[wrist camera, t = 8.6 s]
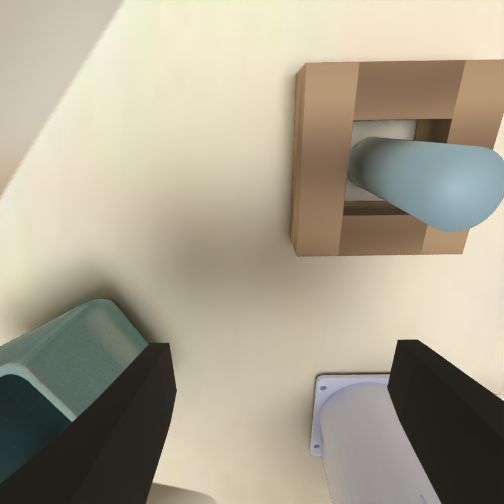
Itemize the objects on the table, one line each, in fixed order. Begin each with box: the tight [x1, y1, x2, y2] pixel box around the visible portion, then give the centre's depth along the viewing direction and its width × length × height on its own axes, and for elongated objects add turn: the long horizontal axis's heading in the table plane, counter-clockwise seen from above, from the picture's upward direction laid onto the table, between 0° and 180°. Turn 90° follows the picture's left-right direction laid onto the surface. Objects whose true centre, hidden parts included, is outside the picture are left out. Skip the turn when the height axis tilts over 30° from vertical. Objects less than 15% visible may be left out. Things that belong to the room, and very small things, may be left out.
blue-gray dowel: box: [347, 137, 504, 232], centre depth 13 cm, size 3×3×8 cm
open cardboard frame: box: [290, 60, 504, 256], centre depth 16 cm, size 9×9×3 cm
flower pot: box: [0, 299, 149, 483], centre depth 18 cm, size 9×9×9 cm
